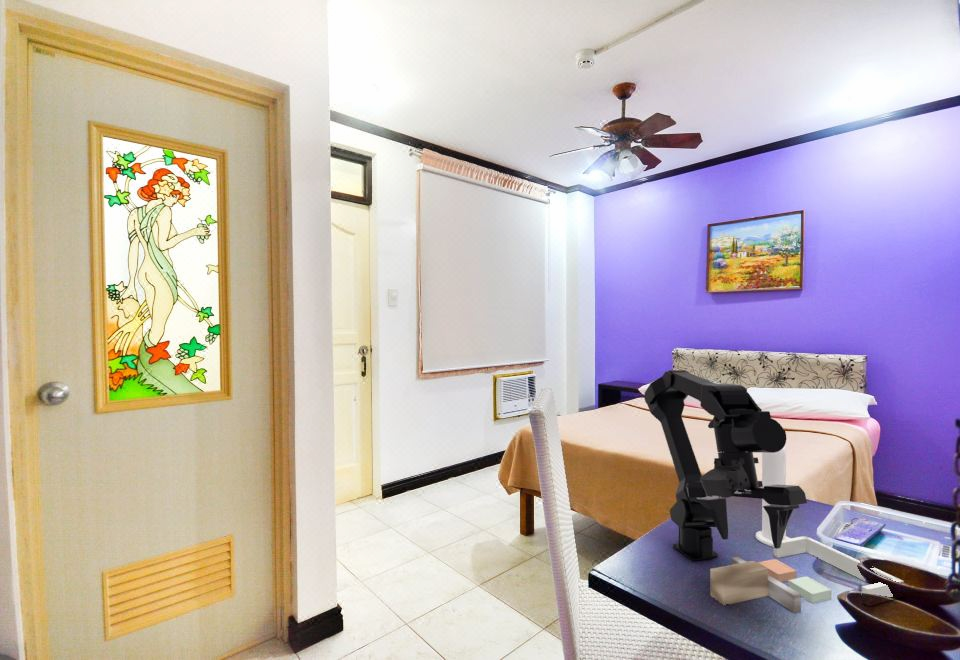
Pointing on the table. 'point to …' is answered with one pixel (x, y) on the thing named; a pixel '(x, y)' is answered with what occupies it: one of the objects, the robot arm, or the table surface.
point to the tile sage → (810, 589)
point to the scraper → (750, 585)
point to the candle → (770, 476)
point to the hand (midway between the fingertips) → (750, 543)
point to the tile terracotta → (779, 570)
